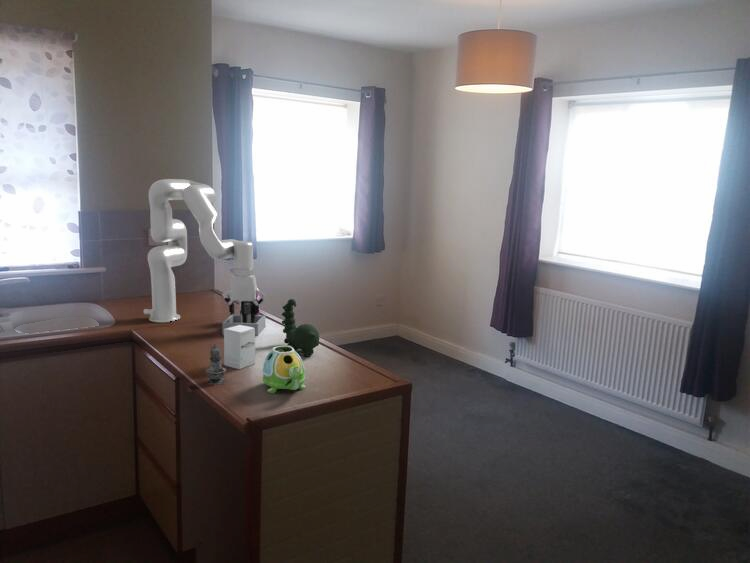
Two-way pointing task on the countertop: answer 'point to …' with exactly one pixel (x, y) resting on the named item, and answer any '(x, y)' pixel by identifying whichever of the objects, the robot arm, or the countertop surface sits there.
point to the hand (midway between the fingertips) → (244, 314)
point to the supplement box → (239, 346)
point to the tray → (236, 320)
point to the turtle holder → (283, 369)
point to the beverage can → (247, 312)
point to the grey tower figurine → (215, 367)
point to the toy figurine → (299, 332)
